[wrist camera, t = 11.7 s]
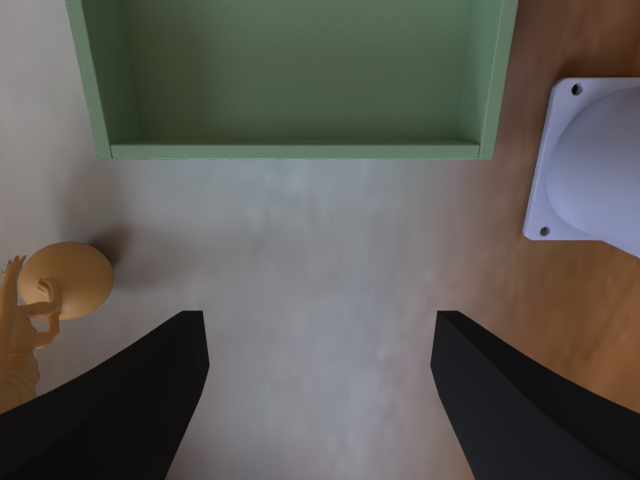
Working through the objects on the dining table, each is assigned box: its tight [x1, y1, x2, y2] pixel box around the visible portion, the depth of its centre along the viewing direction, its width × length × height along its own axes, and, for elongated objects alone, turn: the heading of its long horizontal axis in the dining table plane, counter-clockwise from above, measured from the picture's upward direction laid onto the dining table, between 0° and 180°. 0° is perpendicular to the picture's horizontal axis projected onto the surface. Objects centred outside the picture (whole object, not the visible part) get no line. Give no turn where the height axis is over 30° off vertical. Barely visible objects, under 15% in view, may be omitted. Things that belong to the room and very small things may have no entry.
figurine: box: [0, 242, 114, 414], centre depth 15 cm, size 8×6×12 cm
